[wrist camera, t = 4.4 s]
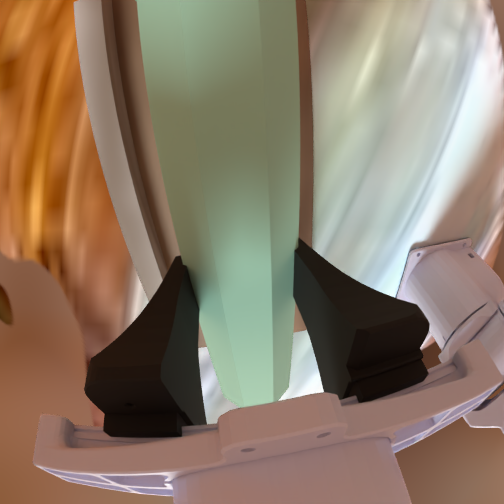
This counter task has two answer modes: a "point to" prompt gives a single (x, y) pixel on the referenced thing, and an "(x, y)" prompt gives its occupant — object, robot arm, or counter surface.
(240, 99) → the container
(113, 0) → the shelf
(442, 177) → the counter surface
